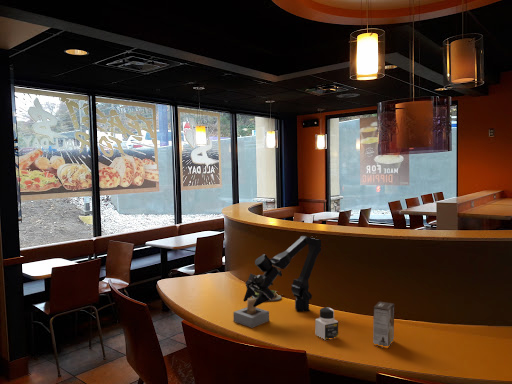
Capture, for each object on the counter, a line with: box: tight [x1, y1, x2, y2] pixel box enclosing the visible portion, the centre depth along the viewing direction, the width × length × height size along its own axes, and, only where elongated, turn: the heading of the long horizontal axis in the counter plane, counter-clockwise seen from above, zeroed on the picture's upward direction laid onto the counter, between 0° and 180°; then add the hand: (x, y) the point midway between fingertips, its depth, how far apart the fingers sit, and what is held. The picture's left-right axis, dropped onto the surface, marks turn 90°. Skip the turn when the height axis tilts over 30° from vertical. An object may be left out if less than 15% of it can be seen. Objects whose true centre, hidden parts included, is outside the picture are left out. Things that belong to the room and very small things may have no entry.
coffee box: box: [372, 301, 395, 346], centre depth 163 cm, size 9×6×16 cm
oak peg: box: [246, 297, 257, 315], centre depth 188 cm, size 4×4×10 cm
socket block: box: [233, 306, 270, 329], centre depth 188 cm, size 12×12×4 cm
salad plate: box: [251, 288, 282, 302], centre depth 226 cm, size 19×18×5 cm
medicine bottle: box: [314, 307, 339, 341], centre depth 170 cm, size 7×7×12 cm
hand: (248, 303), depth 187 cm, fingers open, 9 cm apart
